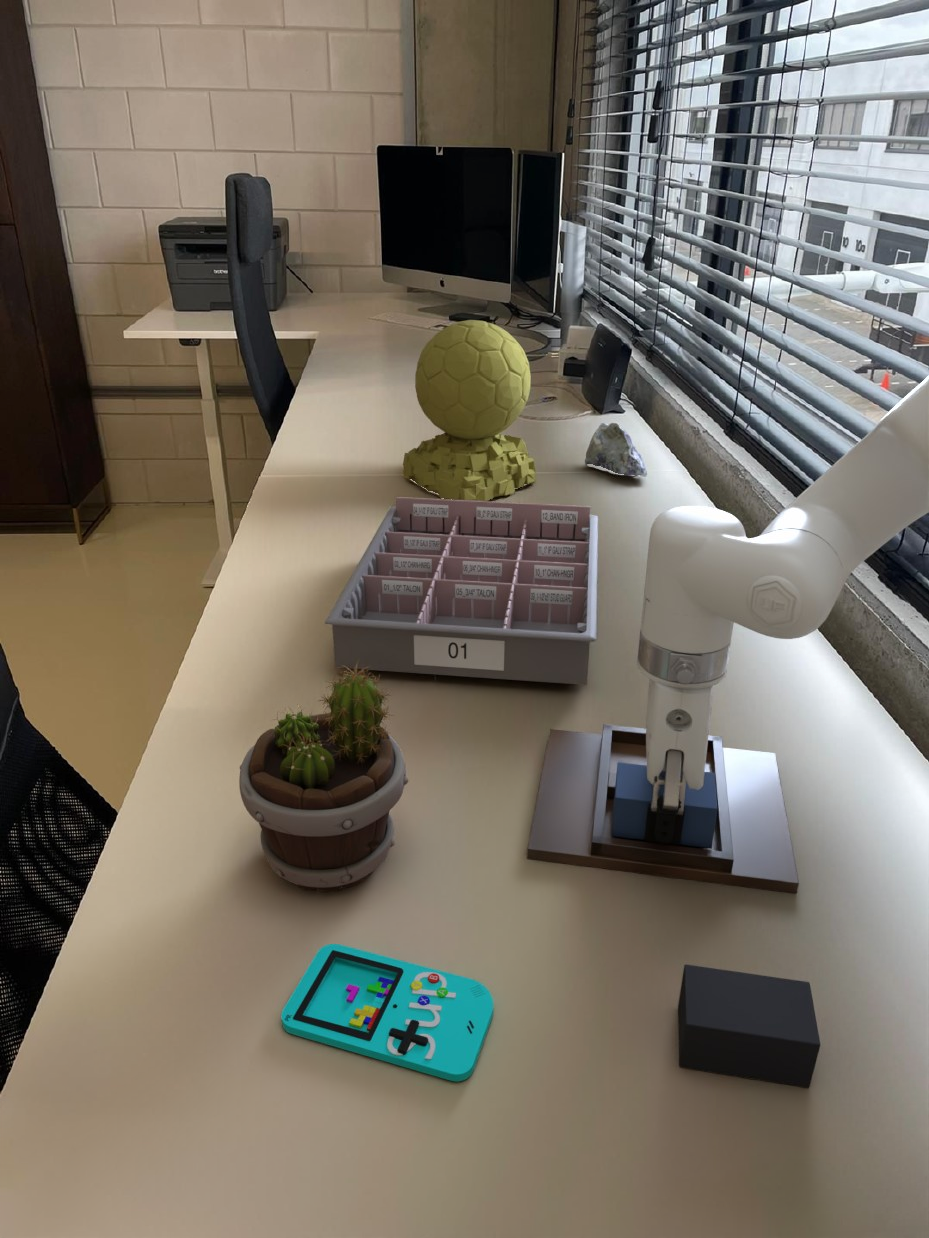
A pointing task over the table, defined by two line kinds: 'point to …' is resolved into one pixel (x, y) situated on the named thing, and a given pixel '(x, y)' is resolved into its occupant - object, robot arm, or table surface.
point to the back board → (582, 835)
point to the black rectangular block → (747, 1026)
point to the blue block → (637, 794)
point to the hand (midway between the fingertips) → (662, 819)
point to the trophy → (471, 413)
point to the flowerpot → (327, 788)
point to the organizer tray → (473, 592)
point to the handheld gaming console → (391, 1011)
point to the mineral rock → (614, 451)
